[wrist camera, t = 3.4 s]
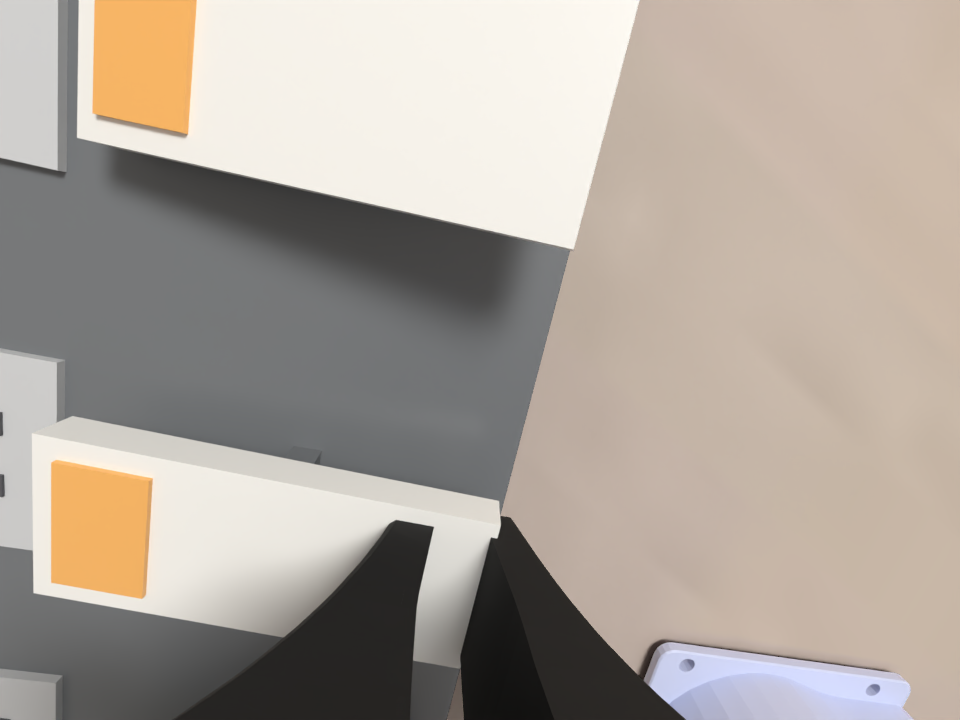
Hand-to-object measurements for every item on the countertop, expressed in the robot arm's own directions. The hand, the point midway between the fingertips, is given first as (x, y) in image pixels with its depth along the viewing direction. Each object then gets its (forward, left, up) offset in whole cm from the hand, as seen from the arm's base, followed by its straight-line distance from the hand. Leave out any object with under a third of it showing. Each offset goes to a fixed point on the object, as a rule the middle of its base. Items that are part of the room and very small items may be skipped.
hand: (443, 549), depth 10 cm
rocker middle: (+3, 0, +1) cm, 3 cm away
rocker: (+3, -8, +1) cm, 9 cm away
